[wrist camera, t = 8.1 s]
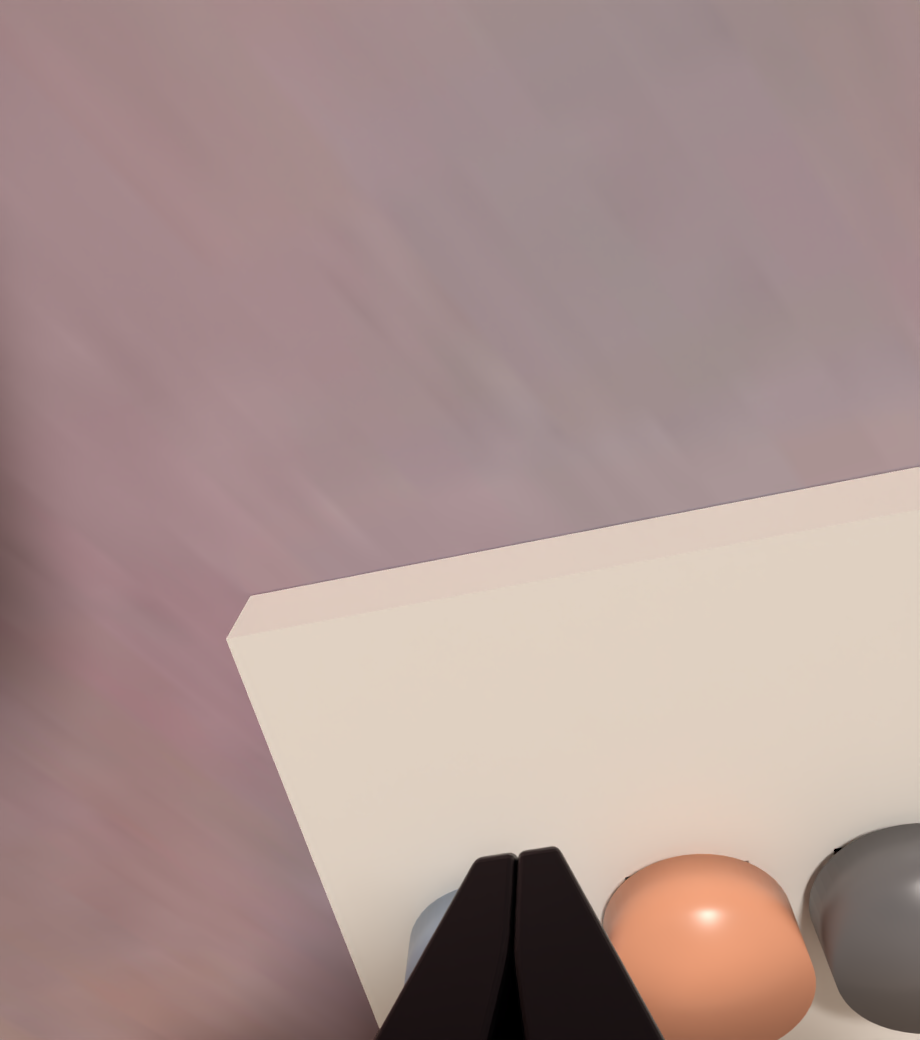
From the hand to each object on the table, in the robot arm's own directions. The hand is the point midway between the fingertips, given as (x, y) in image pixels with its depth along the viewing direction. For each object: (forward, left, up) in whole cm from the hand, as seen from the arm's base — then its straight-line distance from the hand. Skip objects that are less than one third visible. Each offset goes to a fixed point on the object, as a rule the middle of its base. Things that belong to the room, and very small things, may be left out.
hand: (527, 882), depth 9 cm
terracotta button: (-2, +12, -11) cm, 17 cm away
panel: (-2, +12, -12) cm, 17 cm away
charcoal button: (-7, +12, -11) cm, 18 cm away
